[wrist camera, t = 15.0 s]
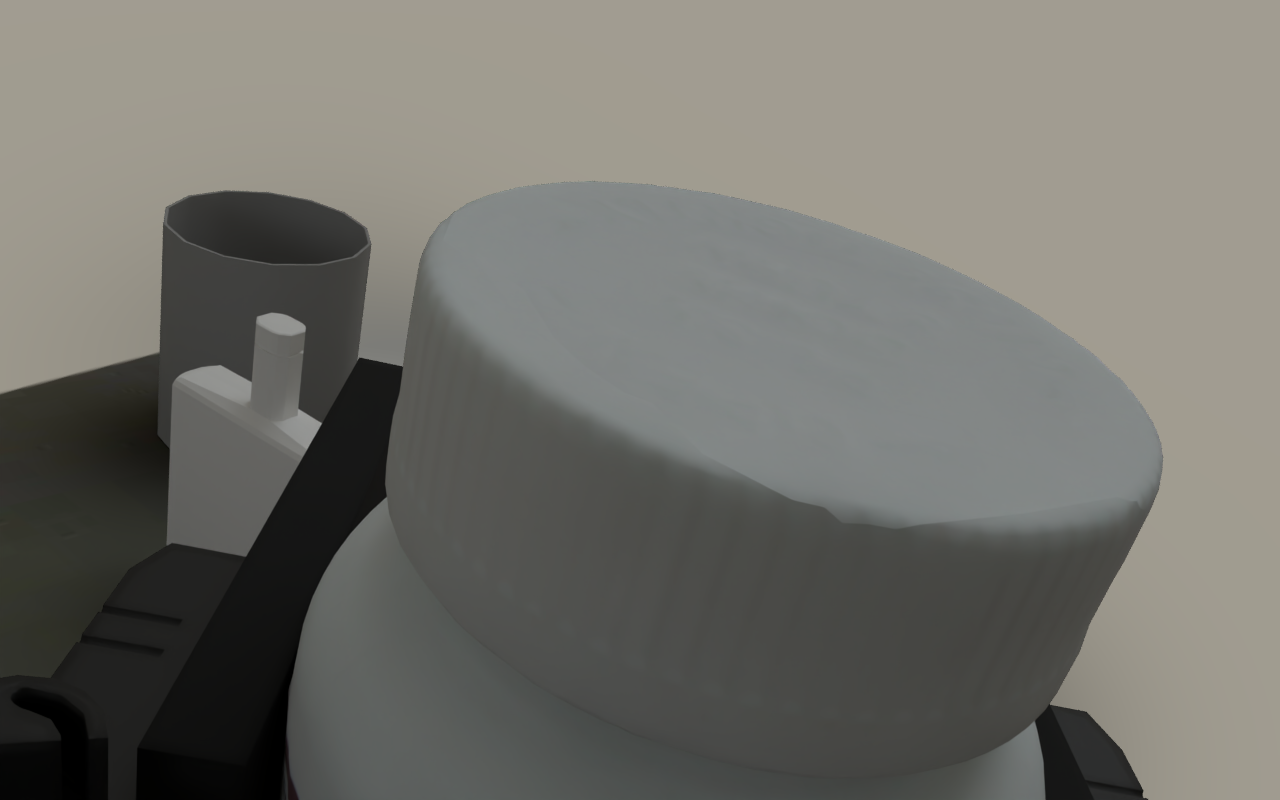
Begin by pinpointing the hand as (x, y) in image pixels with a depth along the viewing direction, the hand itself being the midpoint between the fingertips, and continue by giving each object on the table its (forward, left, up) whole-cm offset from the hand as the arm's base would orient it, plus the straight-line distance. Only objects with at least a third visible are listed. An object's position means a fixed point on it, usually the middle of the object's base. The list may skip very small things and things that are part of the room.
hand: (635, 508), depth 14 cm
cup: (+28, -21, -20) cm, 40 cm away
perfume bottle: (+18, -12, -20) cm, 29 cm away
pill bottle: (-3, +4, -6) cm, 8 cm away
